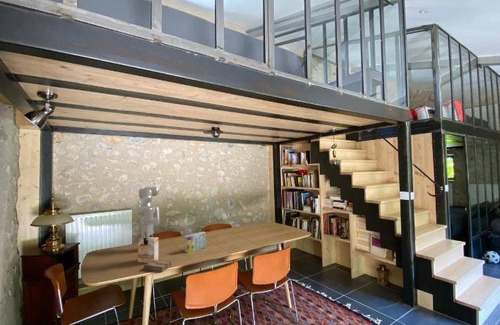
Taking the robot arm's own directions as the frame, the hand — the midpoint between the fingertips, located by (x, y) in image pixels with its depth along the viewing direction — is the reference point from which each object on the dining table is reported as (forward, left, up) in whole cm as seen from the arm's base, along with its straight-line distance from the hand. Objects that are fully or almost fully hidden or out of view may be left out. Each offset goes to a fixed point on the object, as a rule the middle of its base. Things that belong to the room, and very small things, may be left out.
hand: (148, 242), depth 203 cm
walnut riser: (+12, +15, -16) cm, 25 cm away
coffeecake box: (0, 0, -16) cm, 16 cm away
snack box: (-32, +30, -16) cm, 47 cm away
